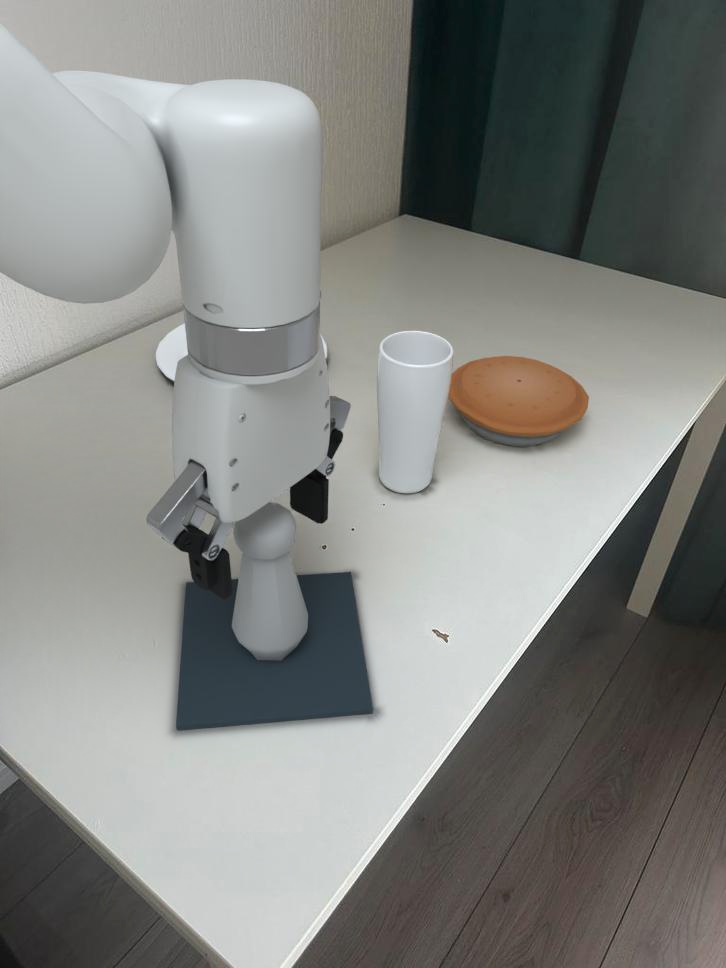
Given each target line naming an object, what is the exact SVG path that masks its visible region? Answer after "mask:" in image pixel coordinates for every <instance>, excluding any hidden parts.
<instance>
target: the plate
mask: <svg viewBox="0 0 726 968" xmlns="http://www.w3.org/2000/svg"><path fill="white" fill-rule="evenodd" d="M320 336H321V338H322V342H323V347H324V352H325V358H326V360H327V359H328V345H327V343H326V341H325V340H324V337H323V335H322V334H320ZM186 355H188V351H187V339H186V330H185V322H184V323H181V324H180V325H179V326H177V327H176V328H174V329H172V330H171V331H169V332H168V333H167V334H166V335H165V336H164V337H163V338H162V339H161V340H160V342H158V345H157V348H156V351H155V360H156V365H157V368H158V369H159V371H160V372H161V373H162V375H164V377H165V378H167V379H168V380H169V381H171V382H173V383H174V380H175V374H176V368H177V363H178V361H179V360H180V359H182V358H183V357H185V356H186Z"/></svg>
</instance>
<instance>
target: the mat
mask: <svg viewBox="0 0 726 968" xmlns="http://www.w3.org/2000/svg"><path fill="white" fill-rule="evenodd" d="M296 576H297V579H298V582H299V586H300V589H301V592H302V596H303V599H304V602H305V606H306V609H307V612H308V627H307V632H306V634H305V635H304V637H303V638H302V640H301V641H300V643H299V644H298V646H297V647H296V648H295V649H294V650H293V651H291V652H290V653H289V654H288V655H287V656H286V657H285V658H284V659H282V660H281V661H279V660H257V659H256V658H255V656H254V655H253V654H252V653H251V652H250V651H249V650H248V649H246V648H245V647H244V646H243V645H242V644H240V643H239V642H238V640H237V637H236V635H235V633H234V631H233V628H232V620H233V613H234V607H235V600H236V593H237V587H238V580H239V578H237V579H236V578H233V579H232V578H231V579H232V594H231V595H230V596H229V597H228V598H227V599H225V600H224V599H222V598H220V597H219V596H217V595H216V594H215V593H213V592H212V591H210V590H209V589H208V590H204V589H202V588H201V587H199V586H198V585H196V583H195V582H194V581H188V582H187V581H186V582H185V593H184V605H183V607H184V608H183V620H182V621H183V623H182V635H181V648H180V665H179V666H180V667H179V675H178V676H179V677H178V678H179V679H178V692H177V705H176V724H175V728H176V731H187V730H188V731H189V730H197V729H198V730H200V729H209V728H222V727H231V726H233V727H234V726H243V725H245V726H246V725H256V724H268V723H277V722H279V723H280V722H290V721H291V722H292V721H301V720H302V721H303V720H314V719H322V718H325V719H326V718H333V717H334V718H335V717H346V716H347V717H348V716H356V715H357V716H358V715H370V714H373V712H374V711H373V710H374V709H373V702H372V696H371V695H372V694H371V689H370V683H369V676H368V671H367V664H366V658H365V652H364V646H363V639H362V633H361V627H360V620H359V615H358V614H359V613H358V608H357V601H356V596H355V588H354V584H353V577H352V572H351V571H342V572H327V573H312V574H310V573H309V574H296Z"/></svg>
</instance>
